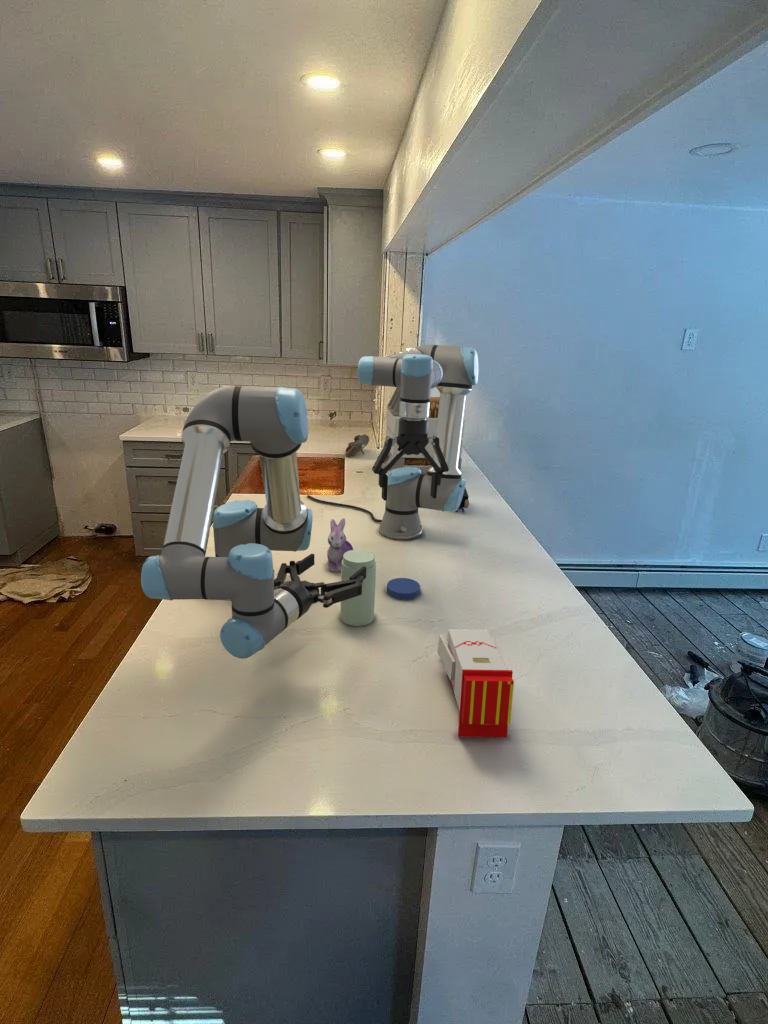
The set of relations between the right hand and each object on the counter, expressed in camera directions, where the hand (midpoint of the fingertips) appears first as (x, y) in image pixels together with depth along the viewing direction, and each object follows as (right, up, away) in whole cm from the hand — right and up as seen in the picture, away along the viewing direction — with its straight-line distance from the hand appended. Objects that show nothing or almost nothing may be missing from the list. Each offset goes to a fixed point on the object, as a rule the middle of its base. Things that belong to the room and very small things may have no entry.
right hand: (408, 498), depth 150 cm
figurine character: (+23, -2, +79) cm, 82 cm away
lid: (-1, -25, +9) cm, 26 cm away
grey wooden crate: (+11, +15, +125) cm, 126 cm away
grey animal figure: (-21, +28, +156) cm, 160 cm away
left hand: (-17, -16, -20) cm, 31 cm away
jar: (-13, -31, -5) cm, 34 cm away
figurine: (-20, -20, +23) cm, 37 cm away
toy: (+11, -41, -32) cm, 53 cm away
